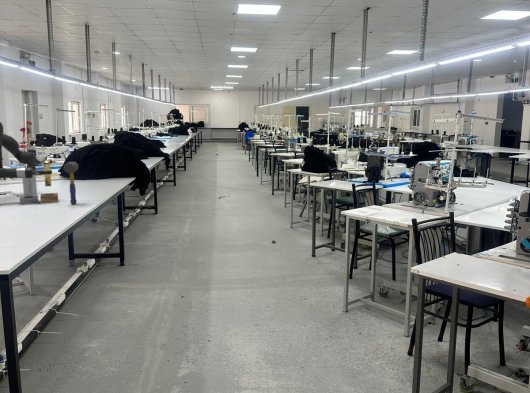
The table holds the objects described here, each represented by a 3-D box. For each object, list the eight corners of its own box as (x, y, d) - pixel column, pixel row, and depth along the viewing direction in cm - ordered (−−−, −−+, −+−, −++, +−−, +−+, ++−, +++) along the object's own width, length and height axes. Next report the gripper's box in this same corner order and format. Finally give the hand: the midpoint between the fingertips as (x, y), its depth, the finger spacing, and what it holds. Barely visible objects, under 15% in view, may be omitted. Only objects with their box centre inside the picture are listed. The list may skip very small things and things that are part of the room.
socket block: (21, 201, 309) (20, 196, 309) (38, 200, 314) (38, 195, 313) (19, 204, 299) (19, 198, 298) (37, 203, 303) (37, 197, 303)
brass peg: (45, 185, 311) (43, 160, 308) (51, 185, 312) (50, 160, 309) (45, 186, 307) (43, 161, 304) (51, 186, 309) (49, 161, 306)
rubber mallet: (76, 206, 297) (74, 162, 292) (65, 206, 296) (62, 162, 290) (81, 202, 309) (78, 160, 304) (70, 202, 308) (67, 160, 302)
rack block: (41, 200, 315) (41, 193, 314) (58, 199, 319) (57, 192, 319) (40, 203, 304) (40, 196, 303) (58, 202, 309) (57, 195, 308)
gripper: (23, 168, 295) (51, 167, 302) (25, 166, 308) (51, 165, 315) (24, 179, 296) (52, 178, 304) (25, 176, 309) (52, 176, 316)
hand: (51, 172), depth 309 cm, fingers closed on brass peg, 4 cm apart
